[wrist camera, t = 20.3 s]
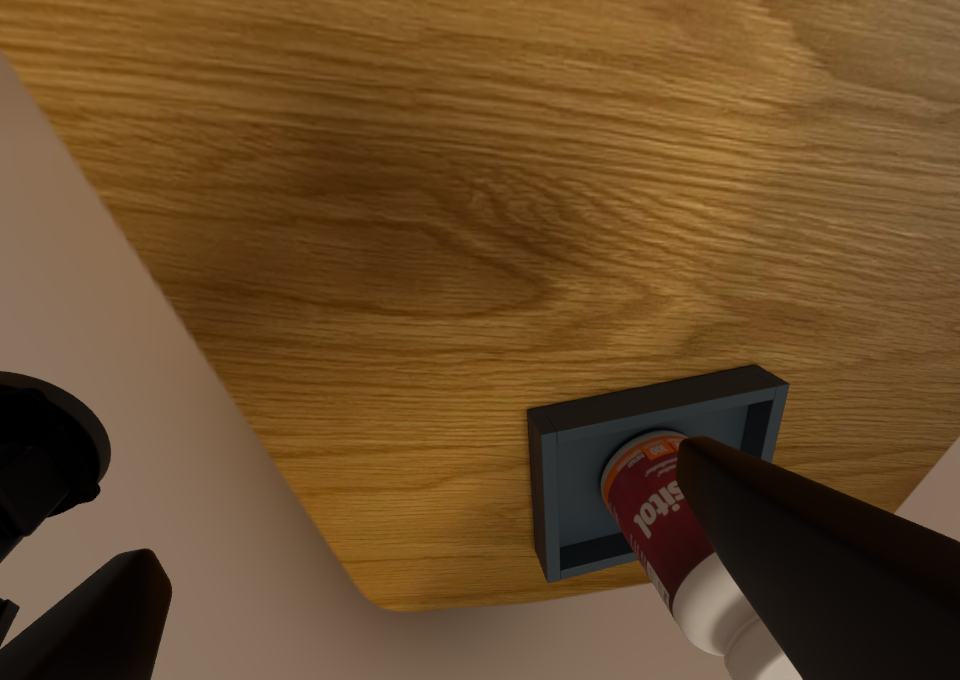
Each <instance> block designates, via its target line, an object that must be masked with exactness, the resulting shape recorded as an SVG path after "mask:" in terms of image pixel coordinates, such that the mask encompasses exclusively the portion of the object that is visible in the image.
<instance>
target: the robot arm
mask: <svg viewBox="0 0 960 680" xmlns="http://www.w3.org/2000/svg"><path fill="white" fill-rule="evenodd" d="M26 397H29V398H31V399H32V400H33V401H30V400H28V399H27V398H26ZM675 477H676V482H677V484H678V487H679V489H680V491H681V492H682V494H683V496H684V498H685V499H686V501H687V503H688V505H689V506H690V508H691V510H692V512H693V514H694V515H695V517H696V519H697V521H698V522H699V524H700V526H701V528H702V529H703V531H704V533H705V535H706V536H707V538H708V540H709V542H710V543H711V545H712V547H713V549H714V551H715V552H716V554H717V556H718V557H719V559H720V561H721V562H722V564H723V565H724V567H725V568H726V570H727V571H728V573H729V574H730V576H731V577H732V579H733V580H734V582H735V583H736V584H737V586H738V587H739V589H740V590H741V592H742V593H743V594H744V596H745V597H746V599H747V600H748V602H749V603H750V605H751V606H752V607H753V609H754V610H755V612H756V613H757V615H758V616H759V617H760V619H761V620H762V622H763V623H764V625H765V626H766V627H767V629H768V630H769V632H770V633H771V635H772V636H773V637H774V639H775V640H776V642H777V643H778V645H779V646H780V647H781V649H782V650H783V652H784V653H785V655H786V656H787V658H788V659H789V660H790V662H791V663H792V665H793V666H794V668H795V669H796V670H797V672H798V673H799V675H800V676H801V678H802V679H803V680H960V542H959V541H957V540H954V539H952V538H950V537H947V536H945V535H943V534H940V533H938V532H935V531H933V530H931V529H928V528H926V527H923V526H921V525H919V524H916V523H914V522H911V521H909V520H906V519H904V518H902V517H899V516H897V515H894V514H892V513H890V512H887V511H885V510H882V509H880V508H878V507H875V506H873V505H870V504H868V503H866V502H863V501H861V500H858V499H856V498H854V497H851V496H849V495H846V494H844V493H841V492H839V491H837V490H834V489H832V488H829V487H827V486H825V485H822V484H820V483H817V482H815V481H813V480H810V479H808V478H805V477H803V476H801V475H798V474H796V473H793V472H791V471H789V470H786V469H784V468H781V467H779V466H776V465H774V464H772V463H769V462H767V461H764V460H762V459H760V458H757V457H755V456H752V455H750V454H748V453H745V452H743V451H740V450H738V449H736V448H733V447H731V446H728V445H726V444H724V443H721V442H719V441H716V440H714V439H712V438H709V437H706V436H695V437H690V438H685V439H683V440H682V441H681V442H680V444H679V448H678V456H677V464H676V471H675ZM85 491H88V492H89V493H87V492H85ZM100 491H101V489H100V486H99V484H98V483H97V481H96V479H95V478H94V476H93V474H92V473H91V471H90V469H89V468H88V466H87V464H86V463H85V461H84V459H83V458H82V456H81V454H80V453H79V451H78V449H77V448H76V446H75V444H74V443H73V441H72V439H71V437H70V436H69V434H68V432H67V431H66V429H65V427H64V426H63V424H62V422H61V421H60V419H59V417H58V416H57V414H56V412H55V411H54V409H53V407H52V406H51V404H50V402H49V401H48V399H47V397H46V396H45V394H44V393H43V392H42V391H41V390H39V389H37V388H33V387H26V388H19V389H13V390H7V391H1V392H0V563H1V562H2V561H3V560H4V558H5V557H6V556H7V555H8V554H9V553H10V552H11V551H12V550H13V548H14V547H15V546H16V545H17V544H18V543H19V542H20V541H21V540H22V539H23V537H26V536H29V535H31V534H32V533H33V532H34V531H35V530H36V529H37V527H38V526H39V525H40V524H41V523H42V522H43V521H44V520H45V519H46V517H47V516H48V515H49V514H50V513H51V512H52V511H53V510H54V509H58V508H63V507H68V506H73V505H78V504H82V503H88V502H91V501H93V500H94V499H95V498H96V497H97V496H98V495H99V493H100ZM171 597H172V586H171V582H170V580H169V578H168V576H167V574H166V573H165V571H164V569H163V567H162V566H161V564H160V562H159V560H158V559H157V557H156V555H155V553H154V552H153V551H152V550H150V549H139V550H134V551H129V552H124V553H121V554H118V555H117V556H115V557H113V558H112V559H111V560H110V561H108V562H107V563H106V564H105V565H103V566H102V567H101V568H100V569H99V570H97V571H96V572H95V573H94V574H92V575H91V576H90V577H89V578H88V579H86V580H85V581H84V582H83V583H81V584H80V585H79V586H78V587H77V588H75V589H74V590H73V591H72V592H70V593H69V594H68V595H67V596H65V597H64V598H63V599H62V600H60V601H59V602H58V603H57V604H56V605H54V606H53V607H52V608H51V609H49V610H48V611H47V612H46V613H44V614H43V615H42V616H41V617H40V618H38V619H37V620H36V621H35V622H33V623H32V624H31V625H30V626H29V627H27V628H26V629H25V630H24V631H22V632H21V633H20V634H19V635H18V636H16V637H15V638H14V639H13V640H11V641H10V642H9V643H8V644H6V645H5V646H4V647H3V648H1V649H0V680H150V679H151V676H152V672H153V668H154V664H155V660H156V657H157V653H158V648H159V645H160V641H161V637H162V633H163V629H164V625H165V621H166V618H167V614H168V610H169V606H170V602H171ZM19 608H20V607H19V606H18V605H16V604H14V603H13V602H12V601H10V600H8V599H7V600H3V599H1V598H0V646H1V644H2V642H3V640H4V638H5V636H6V634H7V632H8V630H9V628H10V626H11V624H12V622H13V620H14V618H15V616H16V614H17V612H18V610H19Z"/></svg>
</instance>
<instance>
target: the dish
mask: <svg viewBox="0 0 960 680" xmlns="http://www.w3.org/2000/svg"><path fill="white" fill-rule="evenodd" d="M789 385H790V384H789V383H787V382H785V381H784V380H782V379H780V378H779V377H777V376H775V375H774V374H772V373H770V372H768V371H766V370H765V369H763V368H761V367H760V366H758V365H753V366H748V367H743V368H738V369H733V370H728V371H723V372H718V373H713V374H708V375H703V376H698V377H692V378H687V379H682V380H677V381H672V382H667V383H662V384H657V385H652V386H647V387H642V388H637V389H632V390H627V391H622V392H617V393H612V394H606V395H601V396H596V397H591V398H586V399H581V400H576V401H571V402H566V403H561V404H556V405H551V406H546V407H541V408H536V409H531V410H528V428H529V445H530V463H531V480H532V497H533V514H534V531H535V548H536V553H537V556H538V559H539V561H540V564H541V567H542V570H543V572H544V575H545V578H546V580H547V583H551V582H555V581H559V580H560V579H561V580H563V579H566V578H570V577H574V576H578V575H582V574H586V573H590V572H594V571H598V570H601V569H605V568H609V567H613V566H617V565H621V564H625V563H629V562H633V561H637V560H639V559H638V558H637V556H636V555H635V553H634V551H633V550H632V548H631V546H630V545H629V543H628V541H627V540H626V538H625V536H624V535H623V533H622V531H621V530H620V528H619V526H618V525H617V523H616V522H615V520H614V518H613V517H612V515H611V513H610V512H609V510H608V508H607V506H606V504H605V502H604V500H603V497H602V493H601V478H602V475H603V472H604V470H605V467H606V465H607V464H608V462H609V461H610V459H611V458H612V457H613V455H614V454H615V453H616V452H617V451H618V450H619V449H620V448H621V447H622V446H624V445H625V444H626V443H628V442H629V441H631V440H633V439H634V438H636V437H638V436H641V435H643V434H646V433H649V432H653V431H673V432H678V433H680V434H683V435H685V436H687V437H688V438H690V437H695V436H706V437H709V438H712V439H714V440H716V441H719V442H721V443H724V444H726V445H728V446H731V447H733V448H736V449H738V450H740V451H743V452H745V453H748V454H750V455H752V456H755V457H757V458H760V459H762V460H764V461H767V462H769V463H771V462H772V458H773V454H774V449H775V445H776V441H777V436H778V432H779V428H780V423H781V419H782V415H783V411H784V406H785V402H786V398H787V393H788V389H789Z"/></svg>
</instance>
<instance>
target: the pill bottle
mask: <svg viewBox="0 0 960 680" xmlns="http://www.w3.org/2000/svg"><path fill="white" fill-rule="evenodd" d="M685 438H688V437H687V436H685V435H683V434H680V433H678V432H673V431H653V432H649V433H646V434H643V435H641V436H638V437H636V438H634V439H633V440H631V441H629V442H628V443H626V444H625V445H624V446H622V447H621V448H620V449H619V450H618V451H617V452H616V453H615V454H614V455H613V457H612V458H611V459H610V461H609V462H608V464H607V465H606V467H605V470H604V472H603V475H602V478H601V493H602V497H603V500H604V502H605V504H606V506H607V508H608V510H609V512H610V513H611V515H612V517H613V518H614V520H615V522H616V523H617V525H618V526H619V528H620V530H621V531H622V533H623V535H624V536H625V538H626V540H627V541H628V543H629V545H630V546H631V548H632V550H633V551H634V553H635V555H636V556H637V558H638V559H639V561H640V563H641V565H642V566H643V568H644V570H645V571H646V573H647V575H648V576H649V578H650V579H651V581H652V583H653V584H654V586H655V588H656V589H657V591H658V593H659V594H660V596H661V598H662V600H663V601H664V603H665V604H666V606H667V608H668V609H669V611H670V612H671V614H672V616H673V618H674V620H675V621H676V622H677V624H678V625H679V627H680V629H681V630H682V632H683V634H684V635H685V636H686V637H687V638H688V640H689V641H691V642H692V643H693V644H694V645H695V646H697V647H698V648H700V649H702V650H704V651H705V652H708V653H710V654H713V655H717V656H723V657H724V662H725V666H726V668H727V670H728V672H729V674H730V676H731V678H732V679H733V680H803V679H802V678H801V676H800V675H799V673H798V672H797V670H796V669H795V668H794V666H793V665H792V663H791V662H790V660H789V659H788V658H787V656H786V655H785V653H784V652H783V650H782V649H781V647H780V646H779V645H778V643H777V642H776V640H775V639H774V637H773V636H772V635H771V633H770V632H769V630H768V629H767V627H766V626H765V625H764V623H763V622H762V620H761V619H760V617H759V616H758V615H757V613H756V612H755V610H754V609H753V607H752V606H751V605H750V603H749V602H748V600H747V599H746V597H745V596H744V594H743V593H742V592H741V590H740V589H739V587H738V586H737V584H736V583H735V582H734V580H733V579H732V577H731V576H730V574H729V573H728V571H727V570H726V568H725V567H724V565H723V564H722V562H721V561H720V559H719V557H718V556H717V554H716V552H715V551H714V549H713V547H712V545H711V543H710V542H709V540H708V538H707V536H706V535H705V533H704V531H703V529H702V528H701V526H700V524H699V522H698V521H697V519H696V517H695V515H694V514H693V512H692V510H691V508H690V506H689V505H688V503H687V501H686V499H685V498H684V496H683V494H682V492H681V491H680V489H679V487H678V484H677V482H676V477H675V471H676V464H677V456H678V448H679V444H680V442H681V441H682V440H683V439H685Z"/></svg>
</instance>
